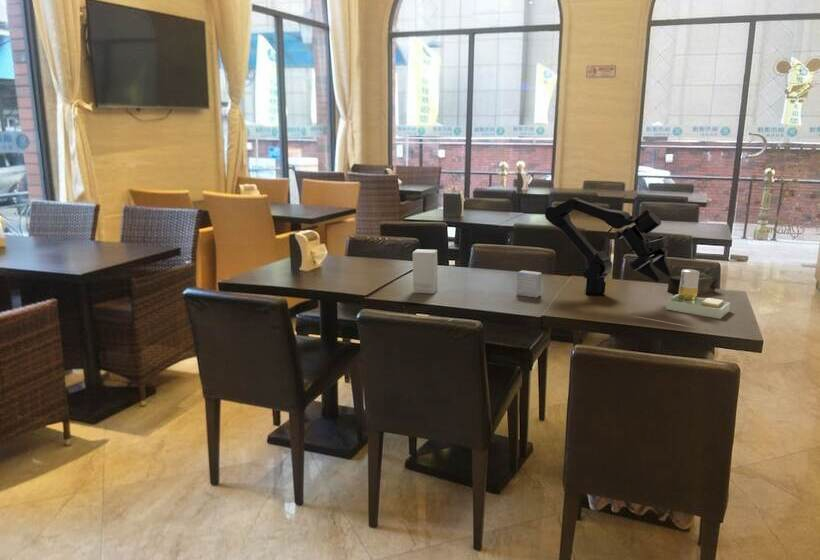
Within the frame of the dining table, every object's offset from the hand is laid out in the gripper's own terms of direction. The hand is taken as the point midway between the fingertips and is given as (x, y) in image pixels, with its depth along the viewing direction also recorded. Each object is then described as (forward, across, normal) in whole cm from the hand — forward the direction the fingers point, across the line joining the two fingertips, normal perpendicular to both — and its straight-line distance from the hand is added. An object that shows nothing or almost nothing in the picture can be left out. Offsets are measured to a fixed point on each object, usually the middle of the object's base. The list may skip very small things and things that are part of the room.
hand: (664, 278), depth 222 cm
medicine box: (-21, -22, +36) cm, 47 cm away
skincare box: (-43, -45, +57) cm, 84 cm away
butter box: (+18, +1, -6) cm, 19 cm away
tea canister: (+12, 0, 0) cm, 12 cm away
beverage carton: (+9, +26, +8) cm, 29 cm away
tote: (+15, 0, -2) cm, 15 cm away
